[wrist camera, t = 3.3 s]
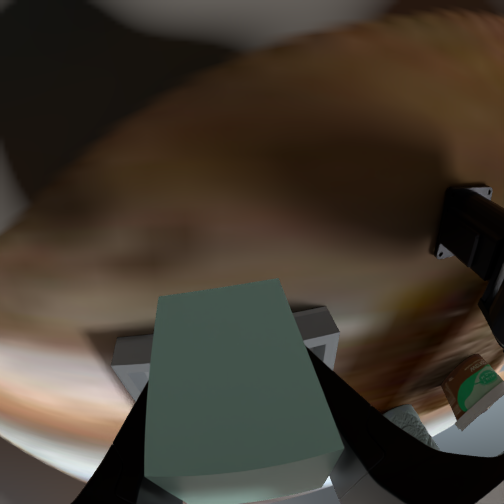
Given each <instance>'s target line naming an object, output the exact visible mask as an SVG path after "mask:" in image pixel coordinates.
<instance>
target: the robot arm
mask: <svg viewBox="0 0 504 504" xmlns="http://www.w3.org/2000/svg"><path fill="white" fill-rule="evenodd" d="M451 194H452V195H451ZM491 196H492V188H491V187H489V186H463V187H450V188H449V189H448V190H447V192H446V198H445V204H444V210H443V216H442V221H441V226H440V231H439V235H438V240H437V244H436V248H435V253H434V256H435V257H436V258H437V259H443V258H447V257H451V256H456V257H457V258H458V259H459V260H460V261H461V262H463V263H464V264H465V265H466V266H467V267H470V268H471V269H472V270H473V271H474V272H475V273H476V274H478V275H479V276H480V277H481V278H482V279H483V280H484V281H486V280H487V281H488V282H489V283H488V285H487V287H486V289H485V292H484V294H483V296H482V298H480V300H479V302H478V306H479V307H480V309H481V311H482V313H483V315H484V317H485V319H486V321H487V322H488V324H489V326H490V328H491V330H492V333H493V335H494V337H495V339H496V340H497V342H498V343H499V345H500V346H501V347H502V348H503V349H504V208H502V207H501V206H499V205H497V204H496V203H494V202H492V201H491ZM305 347H306V349H307V352H308V354H309V357H310V359H311V362H312V364H313V367H314V370H315V372H316V375H317V377H318V380H319V383H320V385H321V388H322V390H323V393H324V396H325V398H326V401H327V403H328V406H329V409H330V411H331V414H332V417H333V419H334V422H335V424H336V427H337V430H338V432H339V435H340V438H341V440H342V443H343V446H344V450H343V452H342V454H341V455H340V457H339V459H338V461H337V462H336V464H335V466H334V468H333V469H332V471H331V473H330V474H329V476H330V479H331V481H332V484H333V486H334V489H335V491H336V493H337V496H338V498H339V501H340V503H341V504H504V451H503V452H502V453H501V454H500V455H498V456H496V457H478V456H469V455H459V454H452V453H446V452H442V451H439V450H436V449H433V448H431V447H430V446H428V445H426V444H425V443H423V442H421V441H420V440H418V439H417V438H415V437H413V436H412V435H410V434H409V433H407V432H406V431H404V430H403V429H401V428H400V427H398V426H397V425H395V424H394V423H392V422H391V421H390V420H388V419H387V418H386V417H385V416H384V415H382V414H381V413H380V412H379V411H378V410H376V409H375V408H374V407H373V406H371V405H370V404H369V403H368V402H367V401H366V400H365V399H364V398H363V397H362V396H360V395H359V394H358V393H357V392H356V391H355V390H354V389H353V388H351V387H350V386H349V385H348V384H347V383H346V382H345V381H344V380H343V379H341V378H340V377H339V376H338V375H337V374H336V373H335V372H334V371H333V370H332V369H330V368H329V367H328V366H327V365H326V364H325V363H324V362H323V361H322V360H321V359H320V358H318V357H317V356H316V355H315V354H314V353H313V352H312V351H311V350H310V349H309V348H308V347H307V346H305ZM503 352H504V350H503ZM148 382H149V380H148ZM148 382H147V383H146V385H145V387H144V388H143V390H142V392H141V394H140V395H139V397H138V399H137V401H136V402H135V404H134V406H133V408H132V409H131V411H130V413H129V415H128V416H127V418H126V420H125V422H124V423H123V425H122V427H121V429H120V431H119V432H118V434H117V436H116V438H115V439H114V441H113V444H112V445H111V446H110V448H109V450H108V452H107V454H106V455H105V457H104V459H103V460H102V462H101V464H100V465H99V467H98V468H97V470H96V471H95V472H94V474H93V475H92V477H91V478H90V479H89V481H88V482H87V484H86V485H85V486H84V488H83V489H82V491H81V492H80V493H79V495H78V496H77V497H76V498H75V500H74V501H73V502H72V503H71V504H183V501H182V500H181V499H179V498H177V497H176V496H174V495H172V494H171V493H169V492H167V491H166V490H164V489H163V488H161V487H160V486H158V485H156V484H155V483H153V482H152V481H150V480H149V479H147V478H146V477H145V476H144V454H145V426H146V408H147V394H148ZM370 406H371V407H370Z"/></svg>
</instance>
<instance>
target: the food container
mask: <svg viewBox="0 0 504 504" xmlns="http://www.w3.org/2000/svg"><path fill="white" fill-rule="evenodd" d="M441 387H442V389H443V391H444V393H445V395H446V397H447V399H448V402H449V404H450V406H451V408H452V410H453V413H454V415H455V417H456V419H457V422H456V423H455V425H456V426H457V427H458V428H459V429H461V430H462V431H463V430H464V429H465V428H466V427H467V426H468V425H469V424H470V423H471V422H473V421H474V419H476V418H477V417H478V416H479V415H480V414H482V413H484V412H485V411H486V410H488V408H490V407H491V406H492V405H493V403H494V402H496V401H497V400H498V399H499V398H500V397H502V396H503V395H504V381H503V380H502V379H501V377H500V376H499V375H498V374H497V373H496V372H495V371H494V370H493V369H492V368H491V366H490V365H489V364H488V363H487V362H486V361H485V360H484V359H483V358H482V357H481V356H480V355H479V354H474V355H472V356H470V357H469V358H467V359H466V360H464V361H463V362H462V363H461V364H459V365H458V366H457V367H456V368H455V369H454V370H453V371H452V372H451V373H450V374H449V375H448V376H447V377H446V379H445V380H444V381H443V383H442V384H441Z"/></svg>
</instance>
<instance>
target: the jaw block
mask: <svg viewBox="0 0 504 504" xmlns="http://www.w3.org/2000/svg"><path fill="white" fill-rule="evenodd" d="M343 450H344V446H343V443H342V440H341V438H340V435H339V432H338V430H337V427H336V424H335V422H334V419H333V417H332V414H331V411H330V409H329V406H328V403H327V401H326V398H325V396H324V393H323V390H322V388H321V385H320V383H319V380H318V377H317V375H316V372H315V370H314V367H313V364H312V362H311V359H310V357H309V354H308V352H307V349H306V347H305V344H304V341H303V339H302V336H301V334H300V331H299V329H298V326H297V324H296V321H295V319H294V316H293V314H292V311H291V309H290V306H289V304H288V301H287V299H286V296H285V294H284V291H283V289H282V286H281V284H280V281H279V279H278V278H277V279H271V280H265V281H259V282H253V283H247V284H241V285H234V286H228V287H222V288H215V289H209V290H202V291H195V292H188V293H181V294H174V295H167V296H160V297H159V299H158V305H157V312H156V320H155V327H154V335H153V343H152V352H151V361H150V371H149V382H148V394H147V408H146V426H145V454H144V476H145V477H146V478H147V479H149V480H150V481H152V482H153V483H155V484H156V485H158V486H160V487H161V488H163V489H164V490H166V491H167V492H169V493H171V494H172V495H174V496H176V497H177V498H179V499H181V500H182V501H184V502H186V503H188V504H240V503H248V502H255V501H262V500H268V499H273V498H279V497H284V496H289V495H293V494H298V493H302V492H306V491H310V490H314V489H318V488H321V487H322V486H323V484H324V483H325V481H326V479H327V478H328V476H329V474H330V473H331V471H332V469H333V468H334V466H335V464H336V462H337V461H338V459H339V457H340V455H341V454H342V452H343Z"/></svg>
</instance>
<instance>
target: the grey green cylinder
mask: <svg viewBox="0 0 504 504" xmlns="http://www.w3.org/2000/svg"><path fill="white" fill-rule="evenodd" d="M383 415H384V416H385V417H386V418H387V419H388V420H390V421H391V422H392V423H394V424H395V425H397V426H398V427H400V428H401V429H403V430H404V431H406V432H407V433H409V434H410V435H412V436H413V437H415V438H417V439H418V440H420V441H421V442H423V443H425V444H426V445H428V446H430V447H431V448H433V449H436V450H439V451H440V449H439V448H438V446H437V445H436V443H435V442H434V440H433V439H432V437H431V436H430V435H429V434H428V432H427V430H426V428H425V427H424V425H423V424H422V422H421V421H420V418H419V416H418V414H417V413H416V411H415V410H414V408H413V407H412V406H411V405H409V404H407V405H402V406H399V407H396V408H394V409H392V410H390V411H388V412H387V413H385V414H383Z"/></svg>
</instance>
